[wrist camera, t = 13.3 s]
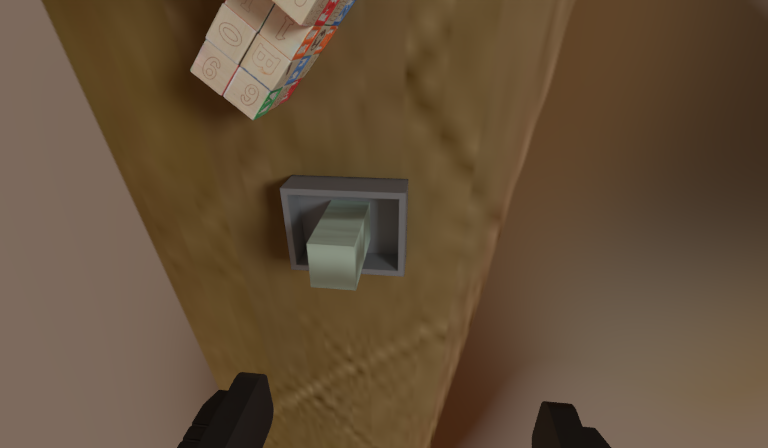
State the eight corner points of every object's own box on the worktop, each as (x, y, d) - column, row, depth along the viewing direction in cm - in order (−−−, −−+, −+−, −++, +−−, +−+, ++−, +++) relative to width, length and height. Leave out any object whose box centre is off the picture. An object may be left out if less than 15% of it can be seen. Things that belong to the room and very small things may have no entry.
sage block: (331, 199, 43) (306, 243, 35) (370, 201, 43) (354, 246, 34) (334, 236, 46) (311, 286, 37) (370, 239, 45) (355, 290, 37)
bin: (292, 175, 43) (279, 188, 40) (408, 179, 42) (406, 193, 38) (301, 251, 48) (291, 269, 44) (406, 257, 47) (403, 276, 43)
